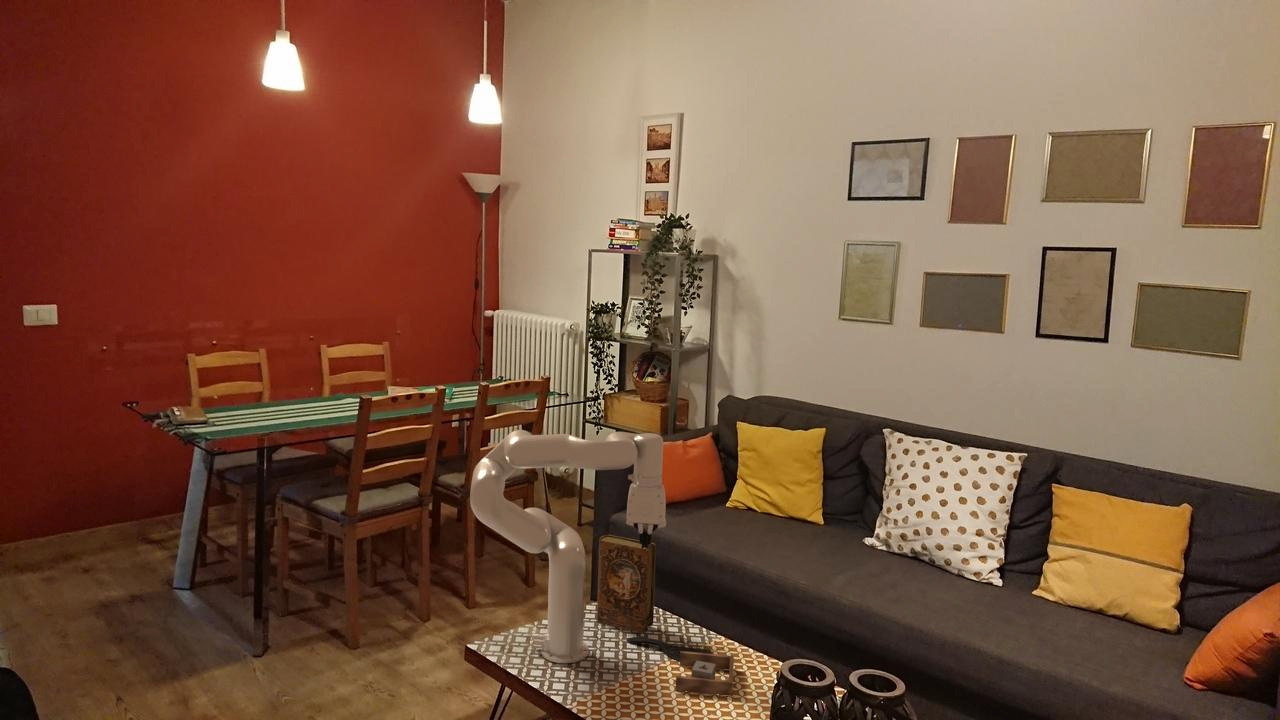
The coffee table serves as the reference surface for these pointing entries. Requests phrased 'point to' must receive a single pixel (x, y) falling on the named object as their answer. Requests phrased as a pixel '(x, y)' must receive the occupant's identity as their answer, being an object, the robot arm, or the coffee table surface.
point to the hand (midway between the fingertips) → (645, 546)
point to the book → (626, 583)
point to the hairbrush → (667, 647)
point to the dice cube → (704, 670)
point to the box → (703, 683)
